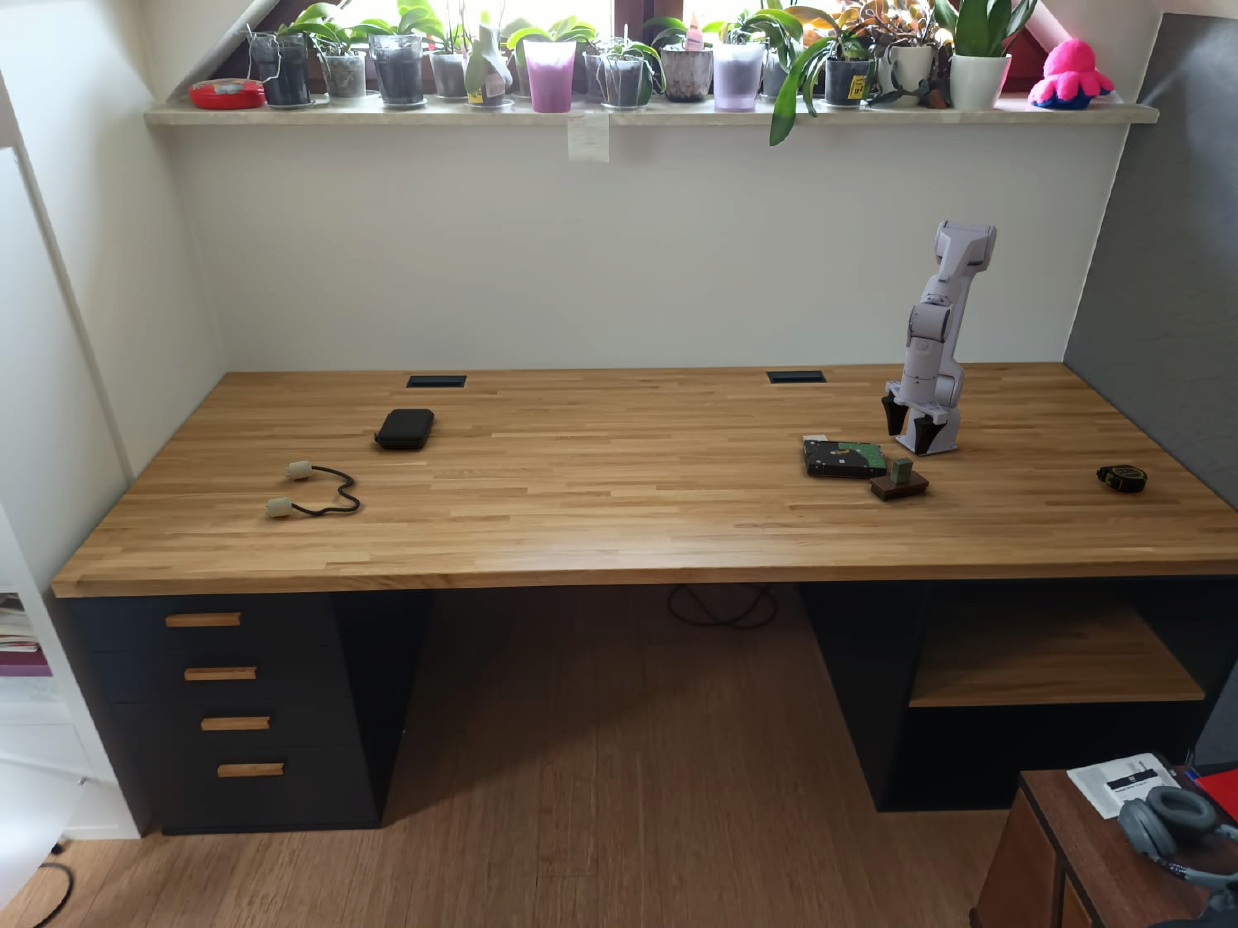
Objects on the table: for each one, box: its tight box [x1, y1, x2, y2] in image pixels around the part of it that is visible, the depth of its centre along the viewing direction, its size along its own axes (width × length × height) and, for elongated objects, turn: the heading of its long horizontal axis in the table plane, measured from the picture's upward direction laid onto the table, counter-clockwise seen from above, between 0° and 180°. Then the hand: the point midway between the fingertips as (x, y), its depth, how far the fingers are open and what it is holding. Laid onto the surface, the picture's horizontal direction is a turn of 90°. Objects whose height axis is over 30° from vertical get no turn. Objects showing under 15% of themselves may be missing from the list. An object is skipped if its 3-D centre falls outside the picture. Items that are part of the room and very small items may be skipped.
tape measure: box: [1095, 464, 1148, 494], centre depth 161 cm, size 7×7×4 cm
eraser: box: [802, 434, 830, 442], centre depth 176 cm, size 4×3×1 cm, turn 96°
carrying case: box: [373, 408, 435, 449], centre depth 178 cm, size 11×3×15 cm
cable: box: [264, 459, 361, 518], centre depth 156 cm, size 16×16×4 cm
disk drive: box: [802, 440, 889, 479], centre depth 168 cm, size 10×3×15 cm
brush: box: [869, 457, 930, 502], centre depth 158 cm, size 10×5×6 cm, turn 110°
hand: (907, 443), depth 155 cm, fingers open, 7 cm apart
